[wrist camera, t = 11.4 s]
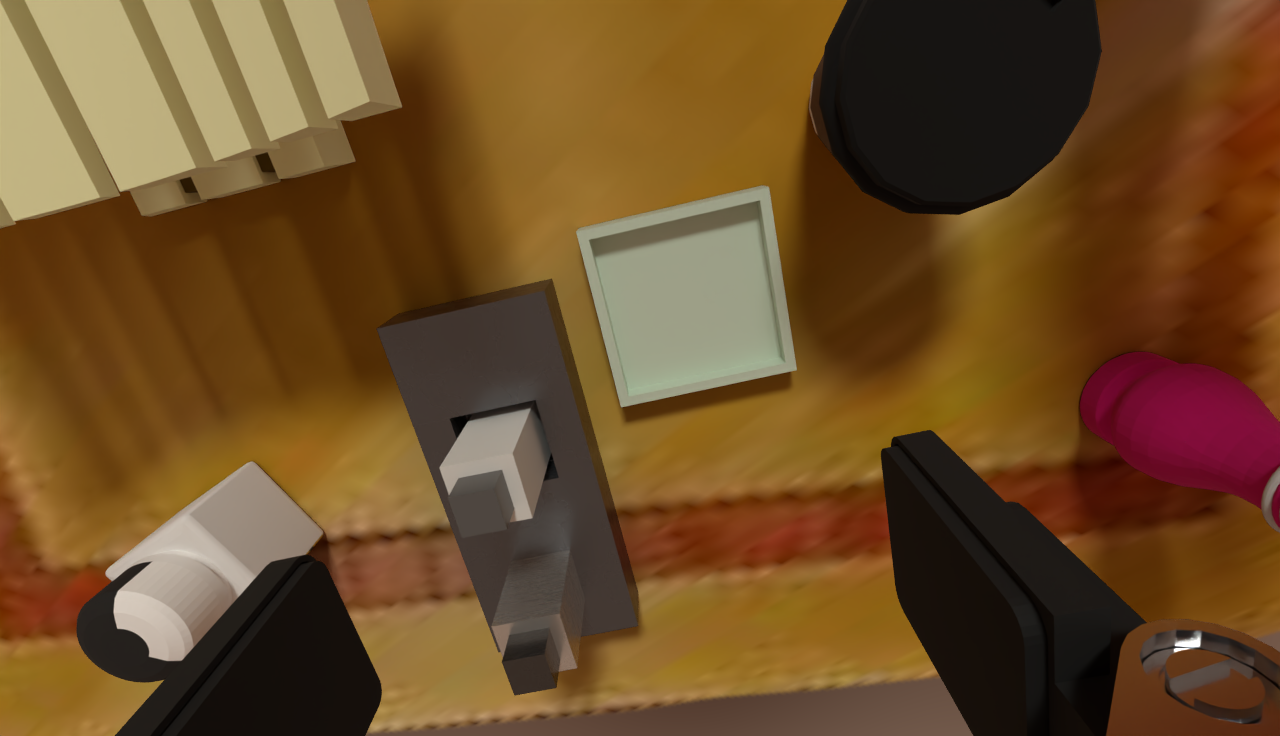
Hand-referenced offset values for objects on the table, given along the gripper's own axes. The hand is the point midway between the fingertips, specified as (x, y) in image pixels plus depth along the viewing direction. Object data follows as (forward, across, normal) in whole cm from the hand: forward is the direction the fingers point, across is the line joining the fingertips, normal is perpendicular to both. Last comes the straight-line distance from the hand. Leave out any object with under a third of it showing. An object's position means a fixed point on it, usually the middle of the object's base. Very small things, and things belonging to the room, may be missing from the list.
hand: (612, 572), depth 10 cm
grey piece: (+30, +10, +12) cm, 34 cm away
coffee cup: (+30, -15, -6) cm, 34 cm away
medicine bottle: (+30, +30, +12) cm, 44 cm away
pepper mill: (+30, -30, +16) cm, 45 cm away
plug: (+29, +10, +9) cm, 32 cm away
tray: (+30, -3, +3) cm, 30 cm away
